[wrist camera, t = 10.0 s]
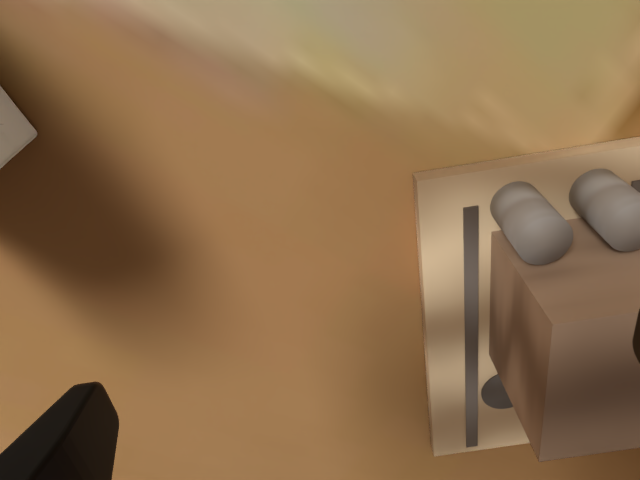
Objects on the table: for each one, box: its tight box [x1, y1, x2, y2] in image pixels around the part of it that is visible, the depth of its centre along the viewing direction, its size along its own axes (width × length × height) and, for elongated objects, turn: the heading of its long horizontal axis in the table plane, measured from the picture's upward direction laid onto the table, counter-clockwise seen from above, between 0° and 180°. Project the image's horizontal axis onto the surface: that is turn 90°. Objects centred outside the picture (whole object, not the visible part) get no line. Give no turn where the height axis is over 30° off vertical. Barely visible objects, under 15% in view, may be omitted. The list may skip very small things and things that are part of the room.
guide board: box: [413, 137, 640, 456], centre depth 24 cm, size 17×11×4 cm, turn 9°
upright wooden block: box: [489, 218, 640, 462], centre depth 21 cm, size 7×5×6 cm
